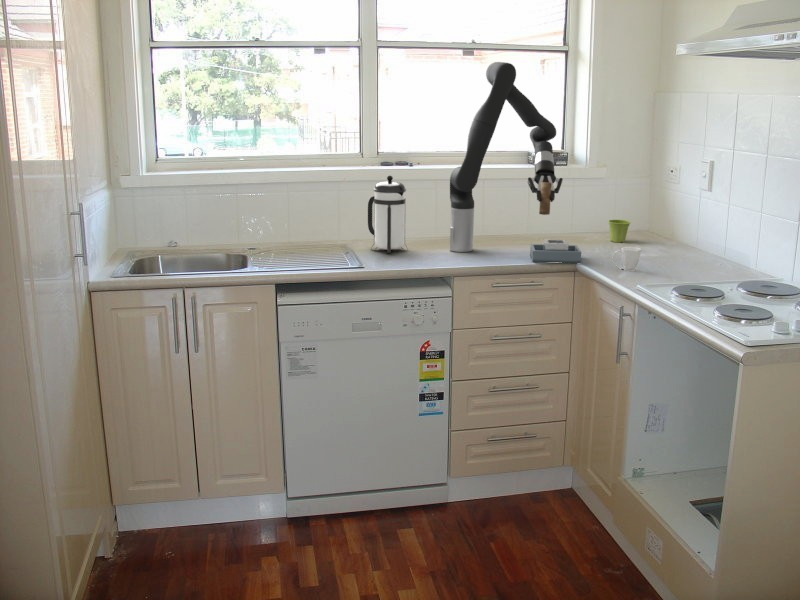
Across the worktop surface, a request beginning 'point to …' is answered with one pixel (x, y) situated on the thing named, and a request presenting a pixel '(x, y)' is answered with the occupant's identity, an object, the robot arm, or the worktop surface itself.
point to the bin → (555, 254)
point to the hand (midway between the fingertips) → (545, 200)
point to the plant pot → (618, 230)
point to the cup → (629, 257)
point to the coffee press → (388, 215)
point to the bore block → (555, 245)
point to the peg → (545, 198)
